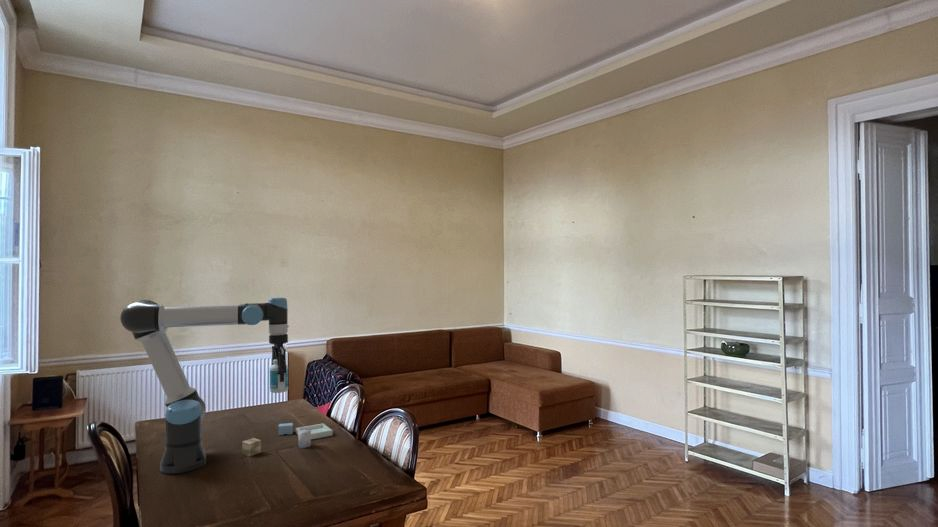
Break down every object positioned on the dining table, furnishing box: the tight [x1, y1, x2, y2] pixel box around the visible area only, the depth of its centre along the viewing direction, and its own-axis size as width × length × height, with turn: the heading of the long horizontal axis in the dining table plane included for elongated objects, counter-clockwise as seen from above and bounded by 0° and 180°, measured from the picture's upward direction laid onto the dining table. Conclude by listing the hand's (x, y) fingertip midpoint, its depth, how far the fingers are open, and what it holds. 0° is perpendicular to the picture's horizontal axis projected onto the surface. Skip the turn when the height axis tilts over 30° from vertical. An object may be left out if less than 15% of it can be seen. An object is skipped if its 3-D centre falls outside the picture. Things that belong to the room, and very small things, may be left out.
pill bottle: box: [269, 359, 289, 394], centre depth 217 cm, size 8×7×14 cm
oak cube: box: [241, 437, 262, 457], centre depth 204 cm, size 5×5×5 cm
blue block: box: [277, 422, 294, 436], centre depth 229 cm, size 6×4×4 cm, turn 107°
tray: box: [295, 422, 334, 440], centre depth 228 cm, size 13×13×2 cm
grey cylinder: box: [297, 430, 312, 449], centre depth 212 cm, size 5×5×6 cm
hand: (279, 387), depth 217 cm, fingers closed on pill bottle, 7 cm apart
